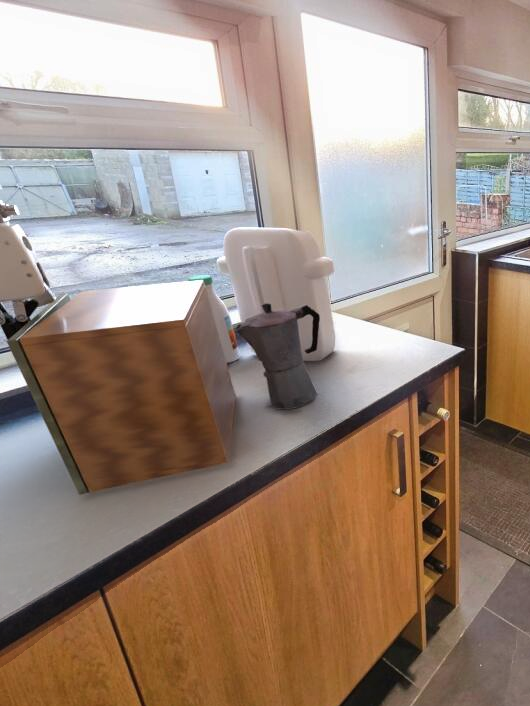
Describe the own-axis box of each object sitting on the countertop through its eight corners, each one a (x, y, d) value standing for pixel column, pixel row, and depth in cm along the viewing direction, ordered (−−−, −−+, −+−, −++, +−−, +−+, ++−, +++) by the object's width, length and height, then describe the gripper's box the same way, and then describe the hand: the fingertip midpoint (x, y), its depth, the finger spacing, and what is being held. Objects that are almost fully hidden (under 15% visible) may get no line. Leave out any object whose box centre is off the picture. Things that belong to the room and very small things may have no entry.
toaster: (226, 359, 119) (190, 230, 106) (257, 343, 129) (227, 223, 116) (328, 368, 113) (303, 233, 101) (352, 350, 123) (332, 225, 110)
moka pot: (246, 404, 97) (219, 306, 89) (319, 380, 108) (302, 289, 99) (267, 420, 92) (240, 316, 83) (342, 393, 102) (325, 298, 93)
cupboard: (89, 492, 72) (18, 338, 62) (130, 415, 94) (82, 291, 84) (227, 463, 79) (183, 319, 69) (236, 397, 101) (203, 279, 90)
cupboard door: (27, 507, 69) (-58, 349, 59) (71, 425, 90) (14, 298, 80) (87, 492, 72) (16, 339, 62) (117, 416, 93) (67, 293, 83)
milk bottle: (230, 365, 115) (206, 280, 107) (197, 366, 115) (171, 281, 107) (246, 353, 122) (225, 272, 114) (215, 353, 122) (192, 273, 114)
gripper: (46, 210, 72) (93, 330, 80) (-101, 218, 65) (-33, 348, 73) (33, 215, 66) (86, 344, 74) (-129, 224, 59) (-53, 365, 67)
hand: (26, 346), depth 73 cm, fingers closed
